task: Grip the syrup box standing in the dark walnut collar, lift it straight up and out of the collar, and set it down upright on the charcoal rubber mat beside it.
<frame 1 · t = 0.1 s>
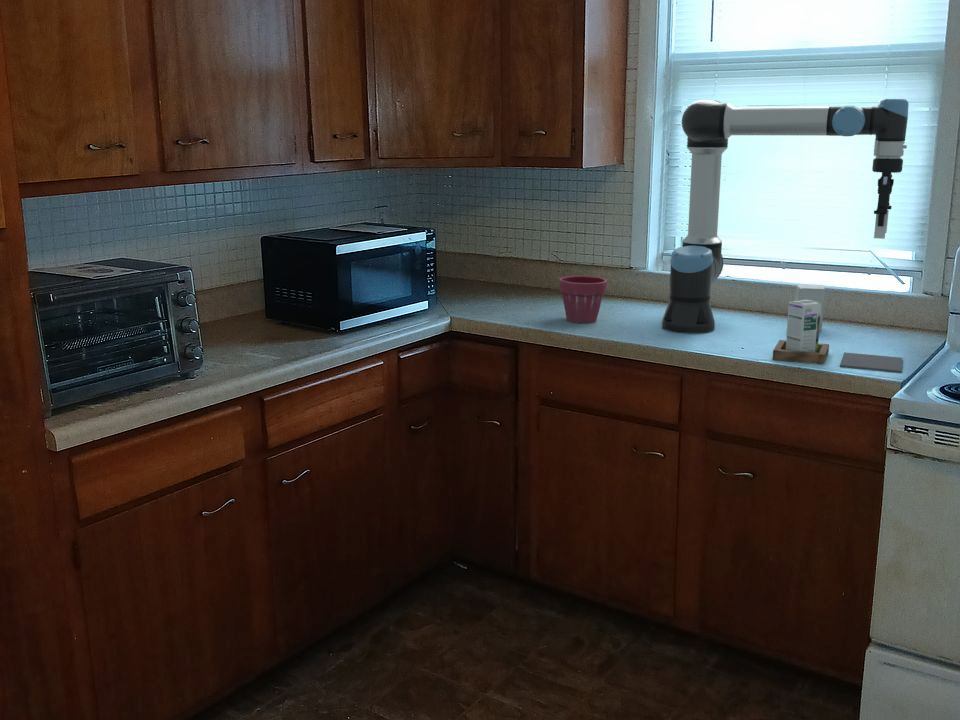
hand: (880, 235, 262), 28 cm above the worktop, fingers open, 13 cm apart
supplement box: (806, 329, 275), on the worktop
charcoal mat: (871, 363, 237), on the worktop
walnut collar: (800, 356, 244), on the worktop
syrup box: (800, 357, 244), resting in walnut collar
plant pot: (581, 321, 288), on the worktop
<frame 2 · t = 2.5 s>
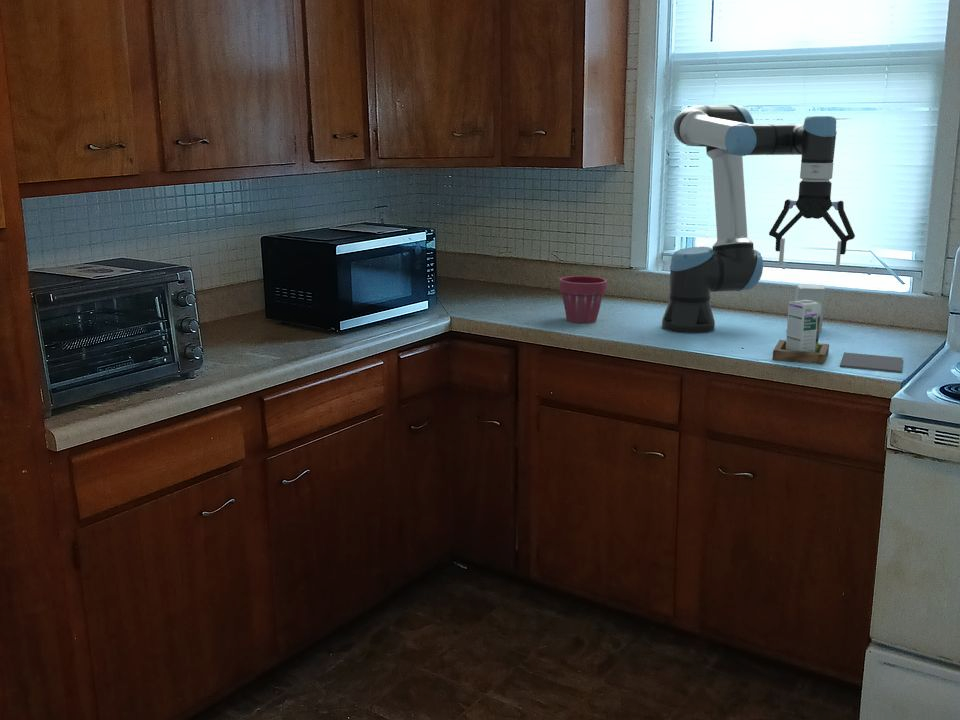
hand: (808, 266, 238), 24 cm above the worktop, fingers open, 13 cm apart
nothing on the worktop moved.
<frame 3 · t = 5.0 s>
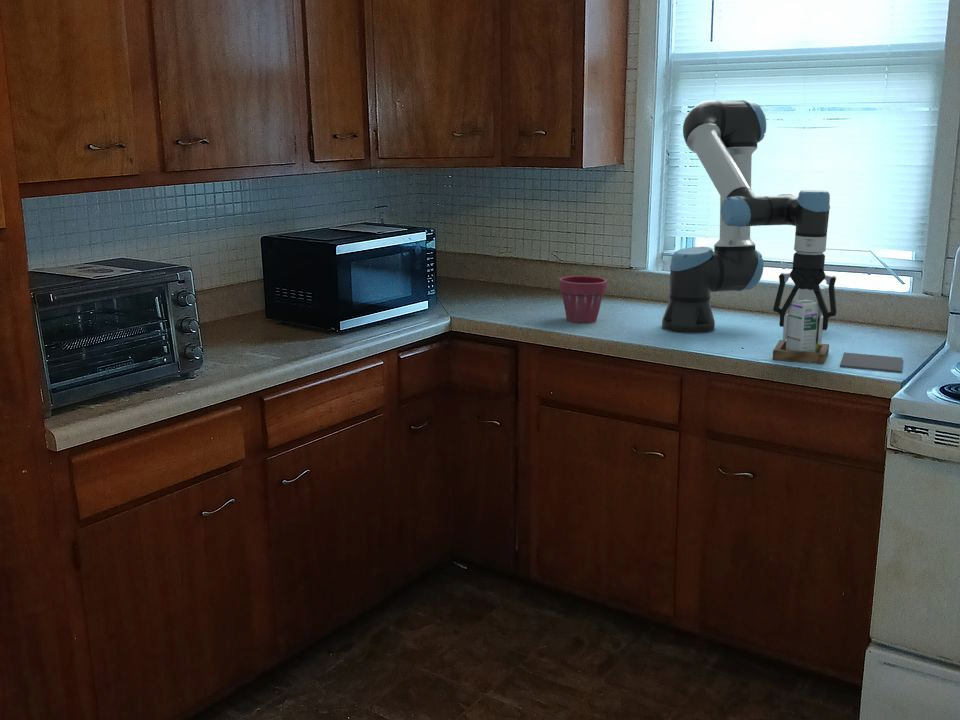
hand: (802, 340, 243), 4 cm above the worktop, fingers closed on syrup box, 8 cm apart
syrup box: (800, 357, 244), resting in walnut collar, touching gripper
everything else where it was.
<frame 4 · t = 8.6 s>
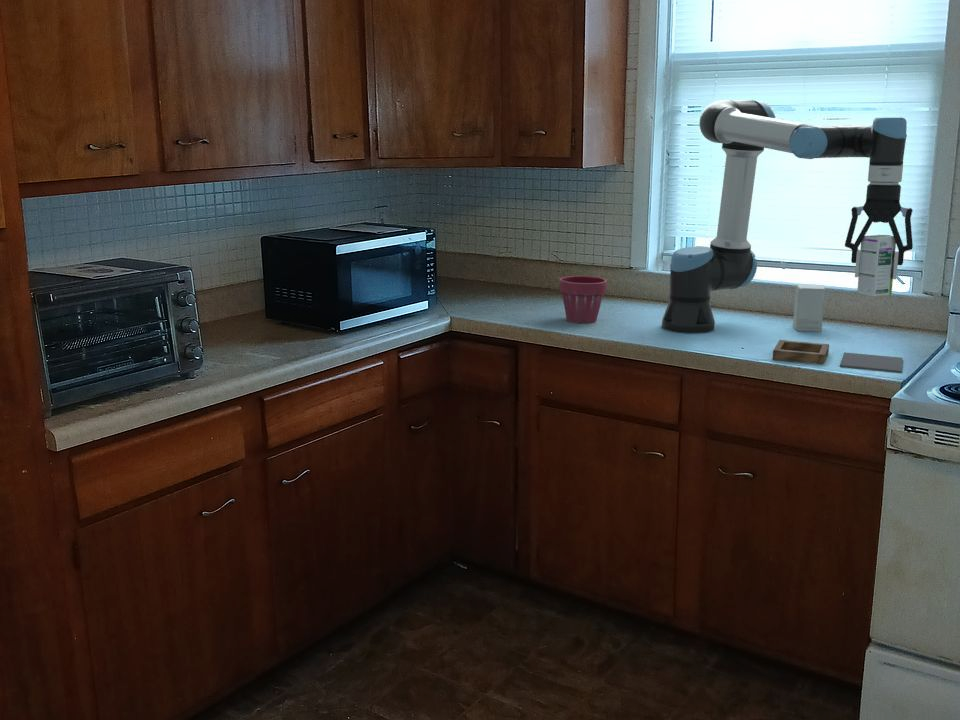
hand: (875, 277, 232), 22 cm above the worktop, fingers closed on syrup box, 8 cm apart
syrup box: (873, 295, 233), point 17 cm above the worktop, touching gripper
everything else where it was.
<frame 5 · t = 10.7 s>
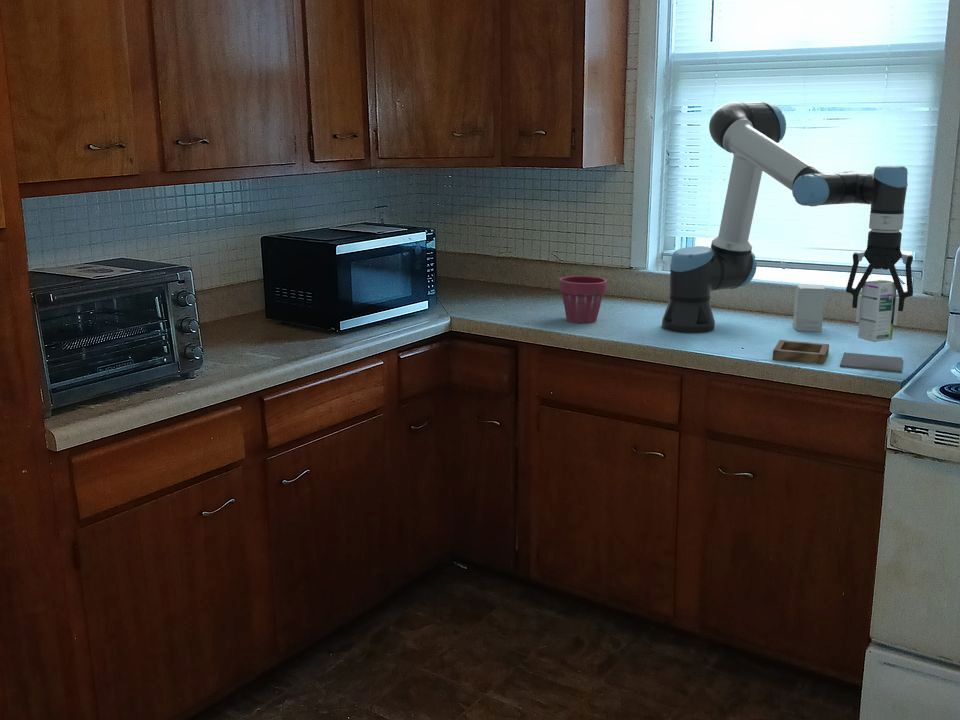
hand: (876, 322, 234), 11 cm above the worktop, fingers closed on syrup box, 8 cm apart
syrup box: (874, 339, 235), point 6 cm above the worktop, touching gripper
everything else where it was.
when the fingers open (6 cm above the worktop, at t = 12.4 s): syrup box drops 1 cm, resting on charcoal mat.
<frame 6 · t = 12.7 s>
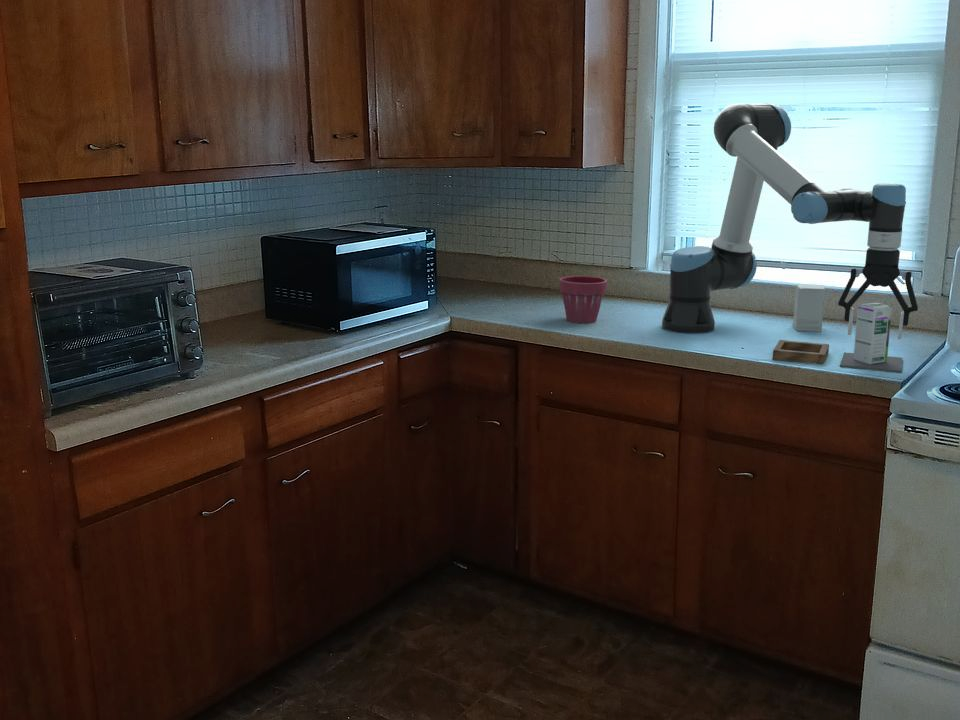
hand: (874, 336, 235), 7 cm above the worktop, fingers open, 11 cm apart
syrup box: (869, 361, 237), resting on charcoal mat
everything else where it was.
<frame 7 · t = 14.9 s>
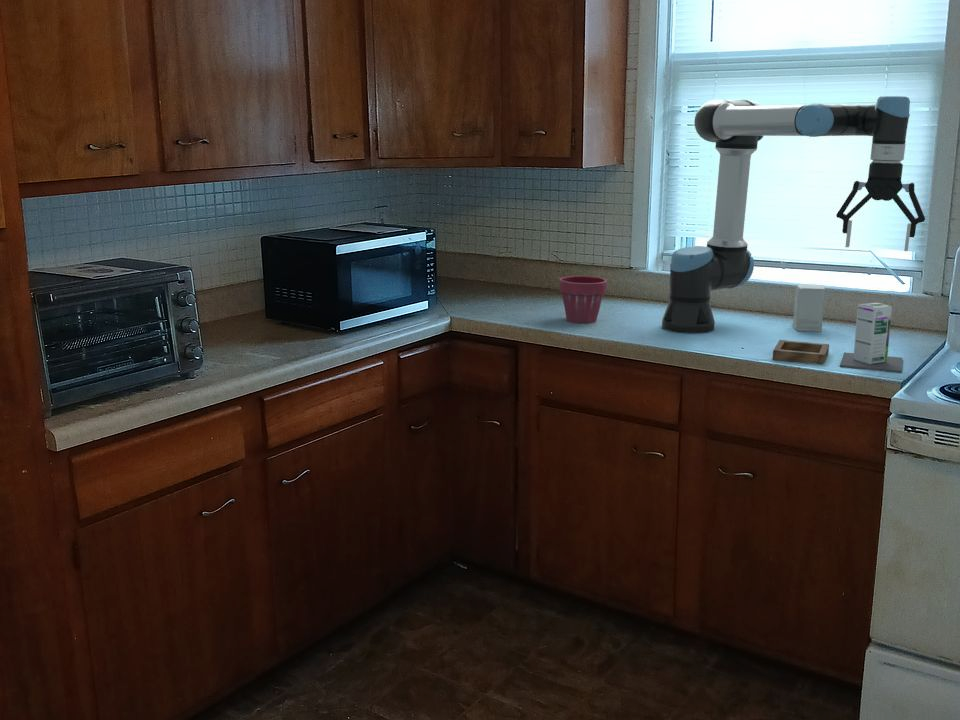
hand: (876, 248, 235), 28 cm above the worktop, fingers open, 13 cm apart
nothing on the worktop moved.
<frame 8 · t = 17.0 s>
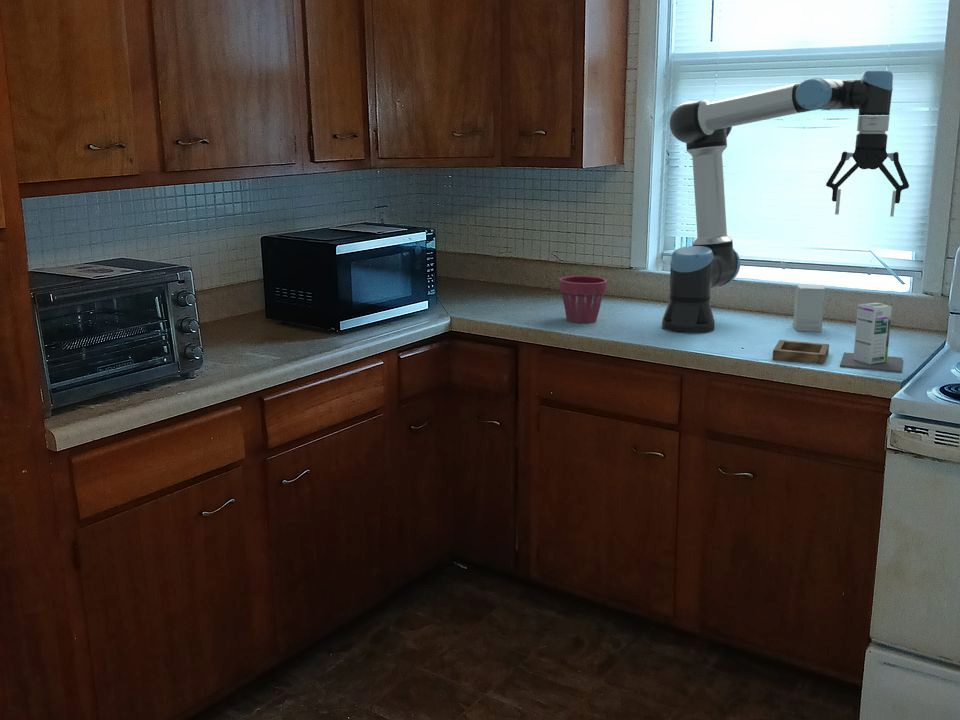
hand: (864, 215, 250), 35 cm above the worktop, fingers open, 13 cm apart
nothing on the worktop moved.
at the end: syrup box inside the target area on the charcoal mat (0.5 cm from its centre), point 0.3 cm above the charcoal mat's base; syrup box tilted 0°; the gripper is holding nothing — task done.
